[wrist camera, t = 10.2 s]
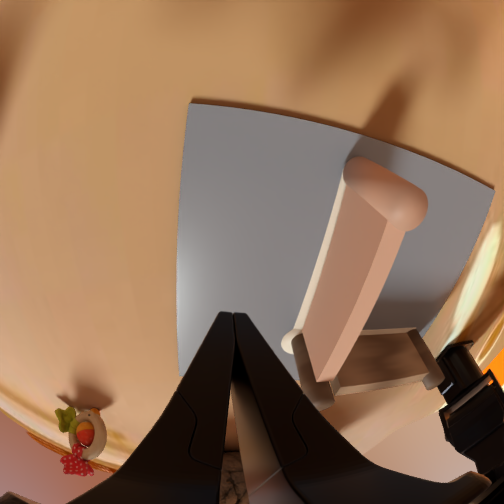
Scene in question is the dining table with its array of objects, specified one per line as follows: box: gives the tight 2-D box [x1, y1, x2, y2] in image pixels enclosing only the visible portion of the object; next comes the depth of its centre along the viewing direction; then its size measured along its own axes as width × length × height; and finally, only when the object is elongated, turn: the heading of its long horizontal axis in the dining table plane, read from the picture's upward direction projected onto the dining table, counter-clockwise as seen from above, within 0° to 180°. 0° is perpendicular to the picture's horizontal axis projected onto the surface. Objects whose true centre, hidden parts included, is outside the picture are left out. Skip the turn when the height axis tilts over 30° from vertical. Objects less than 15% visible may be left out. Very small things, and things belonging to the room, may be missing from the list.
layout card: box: [177, 103, 495, 380], centre depth 20 cm, size 24×22×1 cm
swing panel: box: [302, 156, 428, 382], centre depth 15 cm, size 13×2×5 cm, turn 172°
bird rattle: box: [55, 406, 107, 476], centre depth 24 cm, size 6×11×9 cm
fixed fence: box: [291, 329, 445, 411], centre depth 20 cm, size 14×2×6 cm, turn 81°
